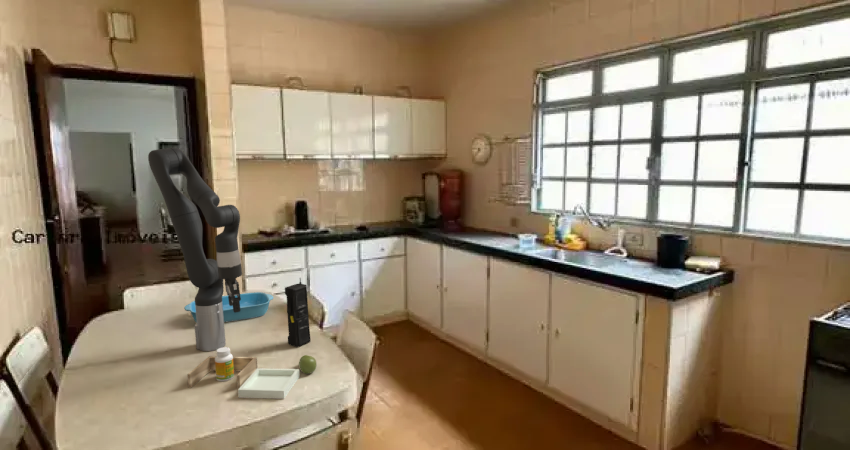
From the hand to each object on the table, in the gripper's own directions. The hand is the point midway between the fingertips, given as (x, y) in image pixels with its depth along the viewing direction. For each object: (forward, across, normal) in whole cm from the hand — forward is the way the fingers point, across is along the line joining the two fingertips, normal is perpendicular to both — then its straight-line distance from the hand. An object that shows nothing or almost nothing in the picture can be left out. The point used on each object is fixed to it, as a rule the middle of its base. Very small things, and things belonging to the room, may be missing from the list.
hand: (234, 308), depth 163 cm
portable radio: (+20, -2, +21) cm, 29 cm away
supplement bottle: (+19, +12, -7) cm, 24 cm away
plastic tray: (+19, +26, +4) cm, 33 cm away
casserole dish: (+19, -50, +5) cm, 53 cm away
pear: (+20, +21, +17) cm, 34 cm away
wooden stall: (+18, +13, -8) cm, 24 cm away
